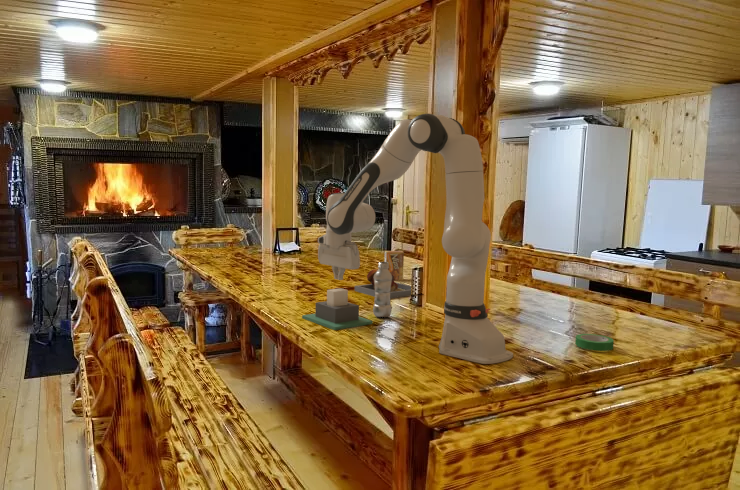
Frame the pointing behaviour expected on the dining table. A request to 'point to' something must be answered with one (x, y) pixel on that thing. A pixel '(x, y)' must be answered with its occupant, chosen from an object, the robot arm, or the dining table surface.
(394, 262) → the candy box
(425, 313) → the dining table surface
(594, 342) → the tape roll
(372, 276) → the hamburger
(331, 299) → the plug
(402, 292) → the burger tray
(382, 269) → the plastic bottle
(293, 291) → the dining table surface
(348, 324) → the header board
